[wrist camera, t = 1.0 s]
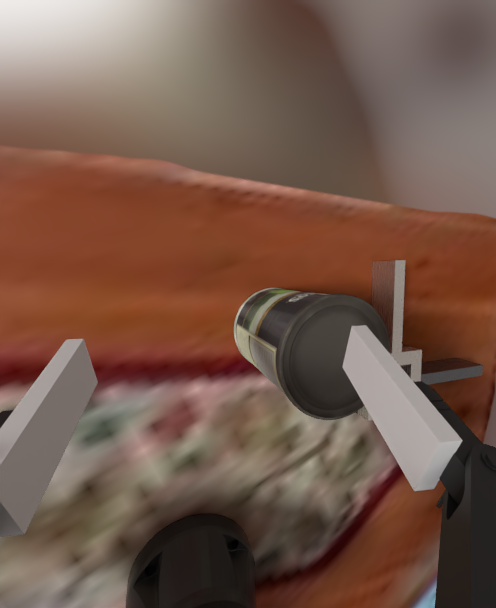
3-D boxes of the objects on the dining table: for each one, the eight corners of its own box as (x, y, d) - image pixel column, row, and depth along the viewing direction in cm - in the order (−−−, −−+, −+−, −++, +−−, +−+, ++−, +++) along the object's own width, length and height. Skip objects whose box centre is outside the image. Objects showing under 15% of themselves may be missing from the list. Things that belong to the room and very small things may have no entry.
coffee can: (240, 280, 35) (294, 283, 21) (314, 295, 38) (401, 305, 24) (225, 364, 35) (269, 418, 22) (300, 371, 38) (377, 422, 25)
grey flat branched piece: (454, 388, 47) (480, 397, 44) (348, 407, 41) (368, 420, 37) (462, 261, 45) (490, 260, 41) (351, 262, 39) (372, 260, 35)
